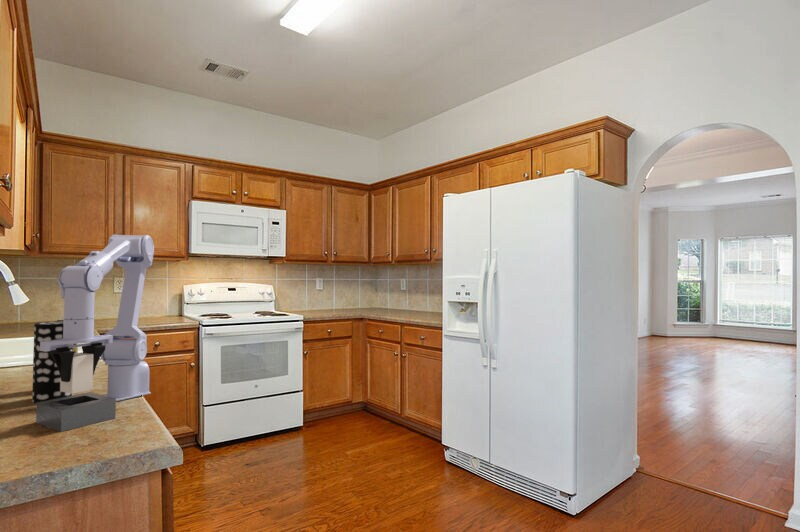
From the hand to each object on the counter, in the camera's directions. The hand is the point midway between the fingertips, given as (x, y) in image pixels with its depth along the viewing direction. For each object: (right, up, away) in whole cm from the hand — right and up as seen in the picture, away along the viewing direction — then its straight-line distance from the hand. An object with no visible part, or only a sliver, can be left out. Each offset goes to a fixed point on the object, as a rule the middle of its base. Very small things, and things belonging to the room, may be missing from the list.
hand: (77, 379), depth 104 cm
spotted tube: (-19, -10, +17) cm, 27 cm away
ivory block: (0, -3, 0) cm, 3 cm away
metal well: (0, -9, 0) cm, 9 cm away
